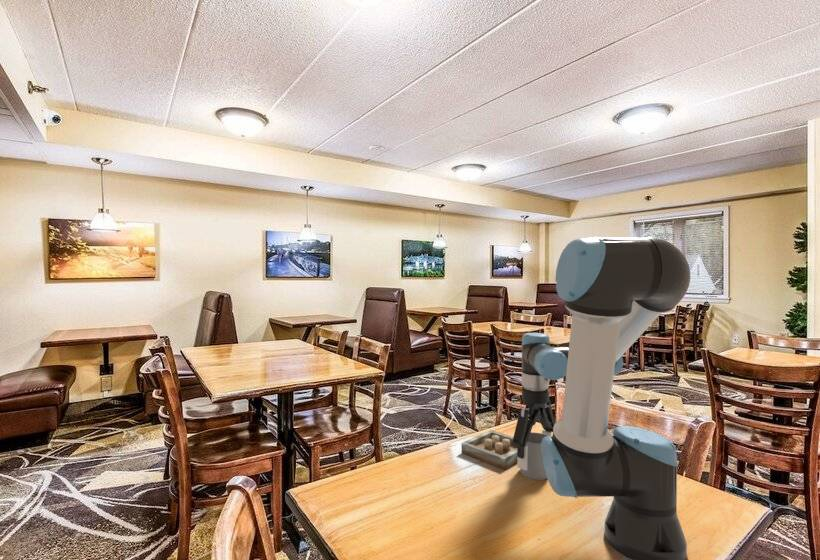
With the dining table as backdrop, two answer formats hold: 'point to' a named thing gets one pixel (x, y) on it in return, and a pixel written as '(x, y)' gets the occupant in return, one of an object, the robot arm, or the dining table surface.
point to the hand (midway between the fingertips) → (535, 460)
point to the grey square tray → (492, 449)
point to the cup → (535, 457)
